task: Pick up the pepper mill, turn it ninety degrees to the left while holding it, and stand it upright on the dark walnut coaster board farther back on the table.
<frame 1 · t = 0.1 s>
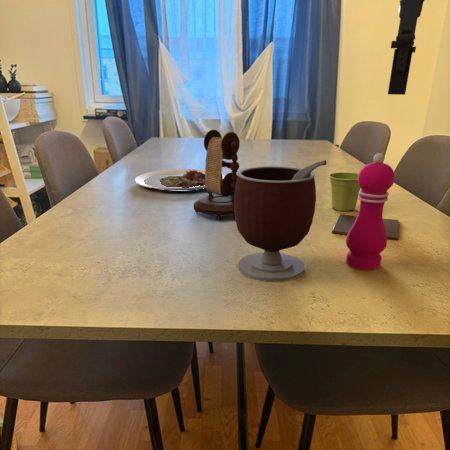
hand: (396, 93, 77), 29 cm above the table, tool pointing down, fingers open, 13 cm apart
coaster board: (366, 227, 101), on the table
mate gourd: (274, 269, 79), on the table
plated food: (181, 184, 143), on the table
pepper mill: (362, 264, 82), on the table
plant pot: (342, 209, 116), on the table
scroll: (222, 213, 112), on the table
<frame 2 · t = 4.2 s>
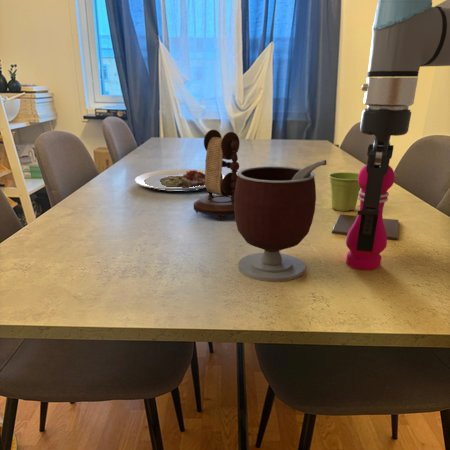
hand: (365, 243, 80), 4 cm above the table, tool pointing down, fingers closed on pepper mill, 7 cm apart
pepper mill: (362, 264, 82), on the table, touching gripper
everything else where it was.
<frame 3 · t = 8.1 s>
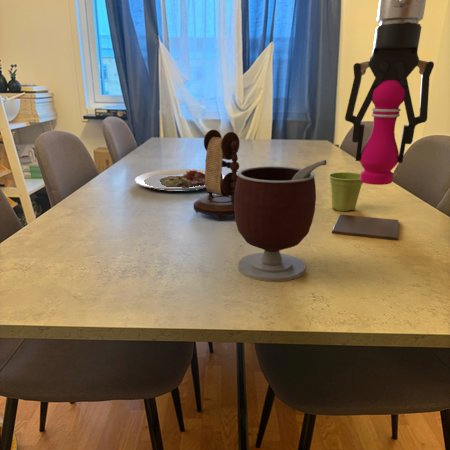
hand: (378, 160, 85), 17 cm above the table, tool pointing down, fingers closed on pepper mill, 7 cm apart
pepper mill: (375, 182, 87), point 12 cm above the table, touching gripper
everything else where it was.
when the fingers open (5 cm above the table, at t = 12.1 s): pepper mill stays where it is, resting on coaster board.
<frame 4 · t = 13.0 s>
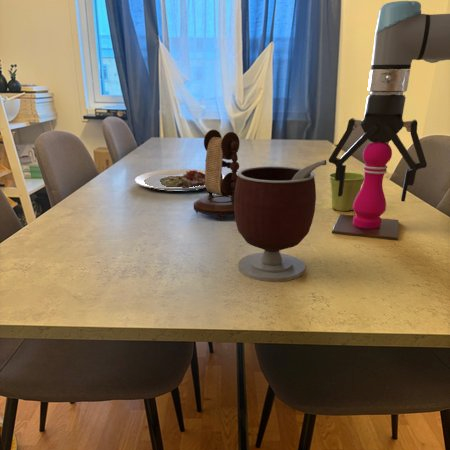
hand: (370, 197, 98), 7 cm above the table, tool pointing down, fingers open, 13 cm apart
pepper mill: (366, 225, 101), resting on coaster board
everything else where it was.
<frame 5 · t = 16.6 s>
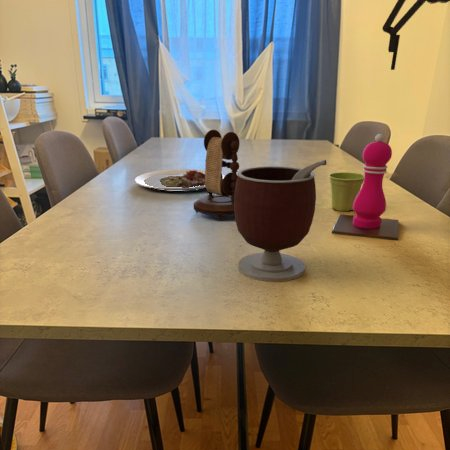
hand: (425, 69, 93), 33 cm above the table, tool pointing down, fingers open, 13 cm apart
nothing on the table moved.
at the end: pepper mill inside the target area on the coaster board (0.0 cm from its centre), point 0.4 cm above the coaster board's base; pepper mill tilted 0° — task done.
